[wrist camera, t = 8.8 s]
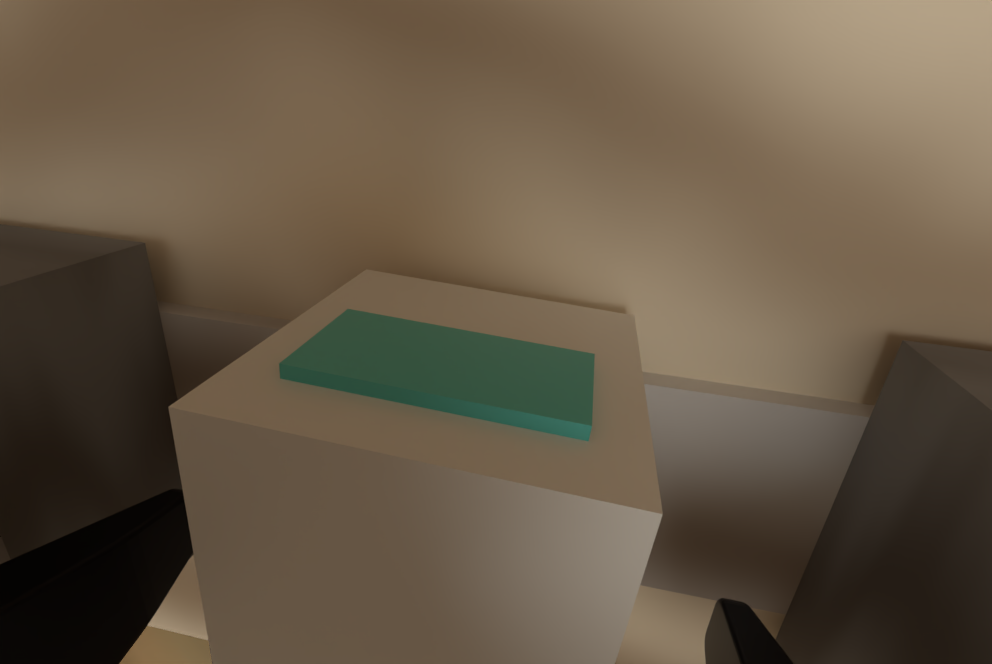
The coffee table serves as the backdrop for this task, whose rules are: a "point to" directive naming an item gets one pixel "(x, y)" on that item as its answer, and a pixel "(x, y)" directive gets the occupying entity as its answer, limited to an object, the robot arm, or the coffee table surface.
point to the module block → (422, 482)
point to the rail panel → (540, 263)
